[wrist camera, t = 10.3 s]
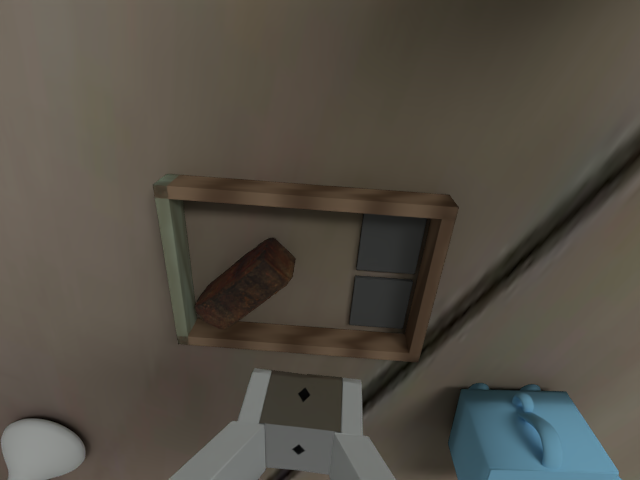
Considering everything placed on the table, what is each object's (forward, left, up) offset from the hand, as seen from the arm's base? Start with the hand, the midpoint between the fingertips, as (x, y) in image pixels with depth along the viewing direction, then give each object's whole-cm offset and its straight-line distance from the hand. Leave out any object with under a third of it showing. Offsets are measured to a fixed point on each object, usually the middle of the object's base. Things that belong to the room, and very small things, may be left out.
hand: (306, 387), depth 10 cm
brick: (+7, +14, -26) cm, 30 cm away
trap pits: (-7, +12, -25) cm, 29 cm away
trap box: (+2, +12, -25) cm, 28 cm away
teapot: (-27, +31, -26) cm, 49 cm away
